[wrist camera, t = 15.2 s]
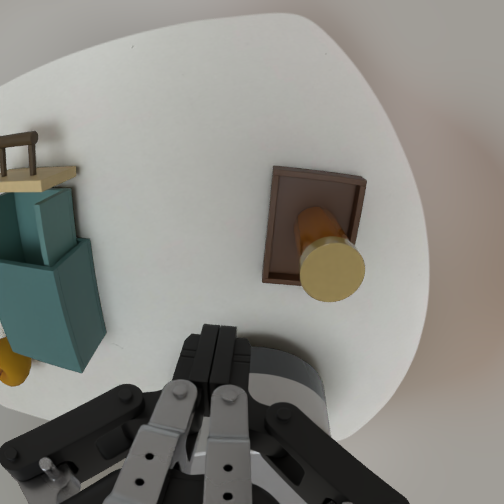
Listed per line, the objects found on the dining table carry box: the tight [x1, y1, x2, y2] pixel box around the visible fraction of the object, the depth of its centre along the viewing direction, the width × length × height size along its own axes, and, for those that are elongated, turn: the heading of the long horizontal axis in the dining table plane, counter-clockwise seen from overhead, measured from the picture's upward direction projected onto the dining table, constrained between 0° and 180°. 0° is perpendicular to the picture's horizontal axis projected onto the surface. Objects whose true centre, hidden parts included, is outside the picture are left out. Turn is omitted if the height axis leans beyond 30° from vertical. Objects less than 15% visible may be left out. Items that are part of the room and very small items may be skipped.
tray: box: [262, 166, 367, 286], centre depth 33 cm, size 12×9×2 cm
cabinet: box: [0, 238, 106, 373], centre depth 35 cm, size 15×13×9 cm
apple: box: [0, 337, 31, 386], centre depth 41 cm, size 9×8×9 cm
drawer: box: [0, 131, 77, 267], centre depth 30 cm, size 18×11×7 cm, turn 176°
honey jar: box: [293, 207, 365, 302], centre depth 29 cm, size 5×5×10 cm
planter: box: [191, 347, 331, 504], centre depth 36 cm, size 19×19×18 cm
